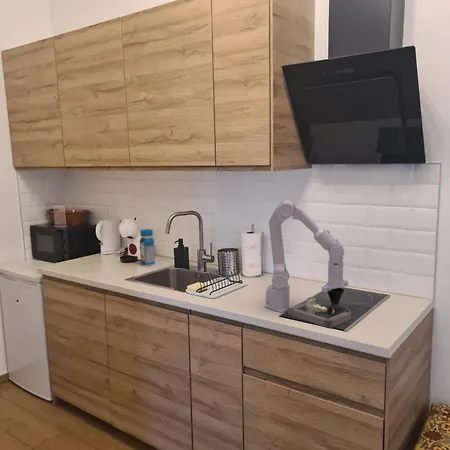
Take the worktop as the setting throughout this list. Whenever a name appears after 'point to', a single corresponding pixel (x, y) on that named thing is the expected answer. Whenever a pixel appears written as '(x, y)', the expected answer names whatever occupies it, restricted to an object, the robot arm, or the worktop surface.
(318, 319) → the chassis bay
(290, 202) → the robot arm
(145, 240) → the beverage bottle
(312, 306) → the valve
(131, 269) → the worktop surface
